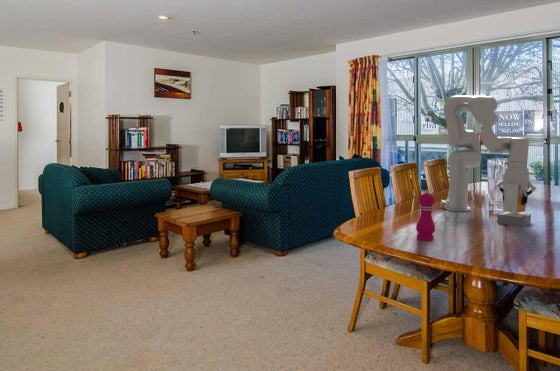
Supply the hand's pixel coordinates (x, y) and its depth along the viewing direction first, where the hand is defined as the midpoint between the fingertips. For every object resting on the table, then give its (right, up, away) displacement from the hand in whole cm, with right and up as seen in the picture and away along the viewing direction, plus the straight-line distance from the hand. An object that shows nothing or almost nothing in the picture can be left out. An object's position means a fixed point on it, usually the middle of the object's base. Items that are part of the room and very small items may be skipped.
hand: (514, 203), depth 197 cm
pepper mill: (-50, -13, -26) cm, 58 cm away
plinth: (0, -9, +1) cm, 9 cm away
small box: (0, -4, +1) cm, 4 cm away
